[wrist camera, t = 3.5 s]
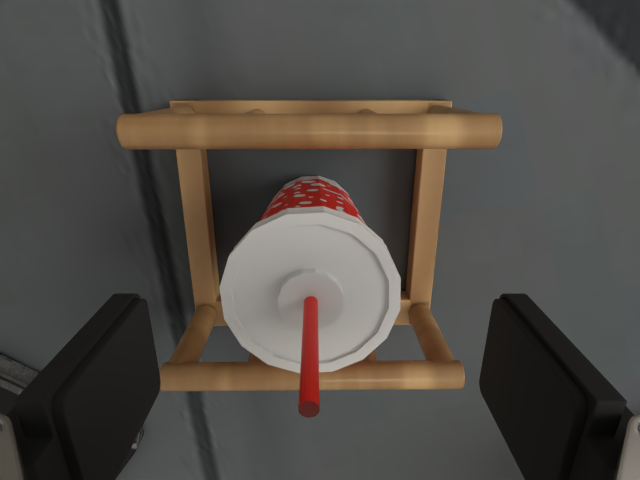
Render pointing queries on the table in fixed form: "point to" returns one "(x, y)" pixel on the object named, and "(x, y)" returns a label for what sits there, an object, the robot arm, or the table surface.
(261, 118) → the cup rack
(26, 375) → the phone
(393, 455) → the table surface
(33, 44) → the table surface
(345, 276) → the beverage cup
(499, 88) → the table surface
